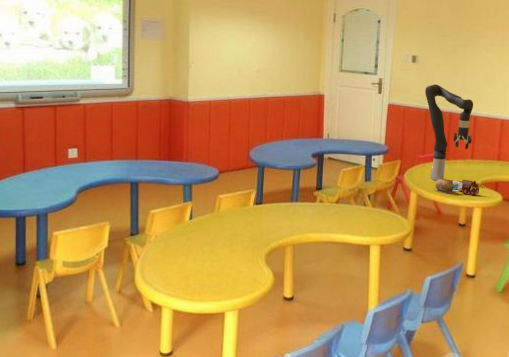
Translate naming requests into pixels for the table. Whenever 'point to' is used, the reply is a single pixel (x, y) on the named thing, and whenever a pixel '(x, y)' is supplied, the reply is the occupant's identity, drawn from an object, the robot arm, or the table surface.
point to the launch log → (444, 185)
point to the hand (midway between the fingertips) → (461, 147)
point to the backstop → (459, 185)
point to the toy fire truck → (469, 187)
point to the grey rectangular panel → (447, 192)
